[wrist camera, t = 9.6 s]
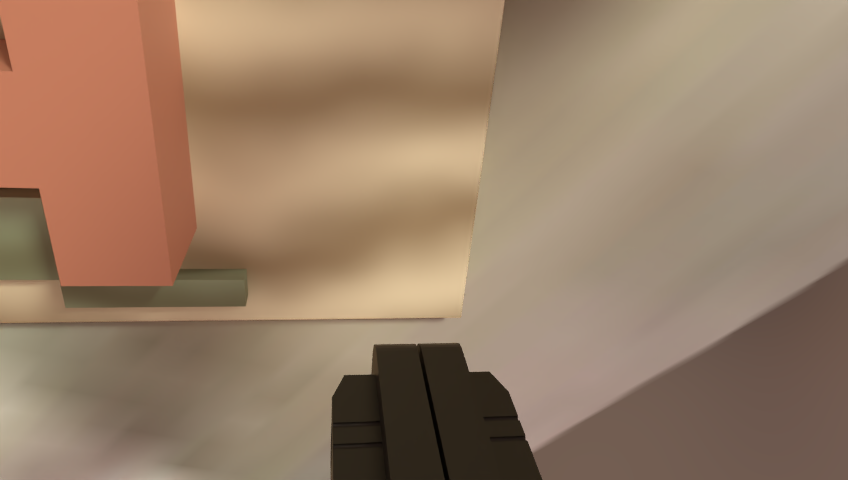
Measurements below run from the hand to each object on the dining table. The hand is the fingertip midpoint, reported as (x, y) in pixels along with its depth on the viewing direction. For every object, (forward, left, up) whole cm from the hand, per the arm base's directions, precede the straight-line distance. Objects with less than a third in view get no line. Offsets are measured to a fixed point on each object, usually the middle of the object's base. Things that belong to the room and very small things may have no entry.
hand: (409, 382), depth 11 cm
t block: (0, -13, -18) cm, 22 cm away
